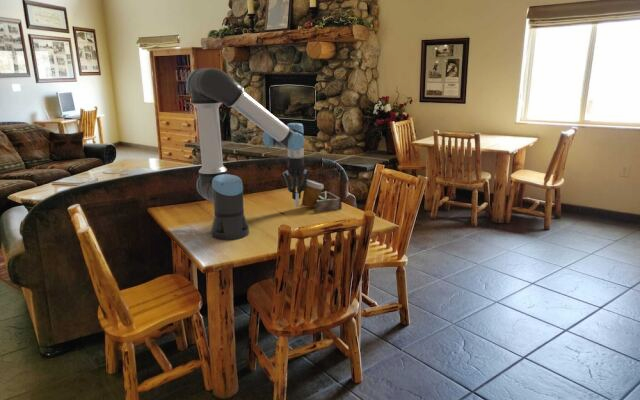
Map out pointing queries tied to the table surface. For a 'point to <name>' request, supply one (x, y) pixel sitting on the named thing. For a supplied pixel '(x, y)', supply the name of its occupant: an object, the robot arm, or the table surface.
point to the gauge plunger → (322, 197)
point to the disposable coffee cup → (311, 193)
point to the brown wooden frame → (328, 202)
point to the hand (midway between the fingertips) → (296, 205)
